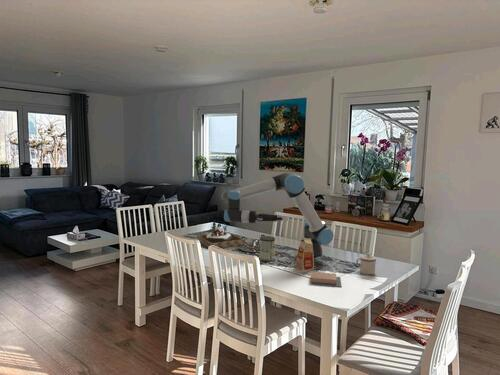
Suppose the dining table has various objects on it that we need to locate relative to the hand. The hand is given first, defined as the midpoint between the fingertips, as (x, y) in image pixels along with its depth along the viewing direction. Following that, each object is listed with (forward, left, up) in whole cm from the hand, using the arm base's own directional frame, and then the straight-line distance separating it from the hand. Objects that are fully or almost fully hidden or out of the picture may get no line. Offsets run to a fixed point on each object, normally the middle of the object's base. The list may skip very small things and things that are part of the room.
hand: (287, 218), depth 225 cm
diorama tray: (+7, -77, -32) cm, 84 cm away
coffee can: (-3, -26, -32) cm, 41 cm away
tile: (-3, +20, -30) cm, 36 cm away
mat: (-9, +26, -32) cm, 42 cm away
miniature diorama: (+8, -78, -32) cm, 85 cm away
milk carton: (-13, +2, -32) cm, 35 cm away
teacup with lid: (-42, +24, -32) cm, 58 cm away
